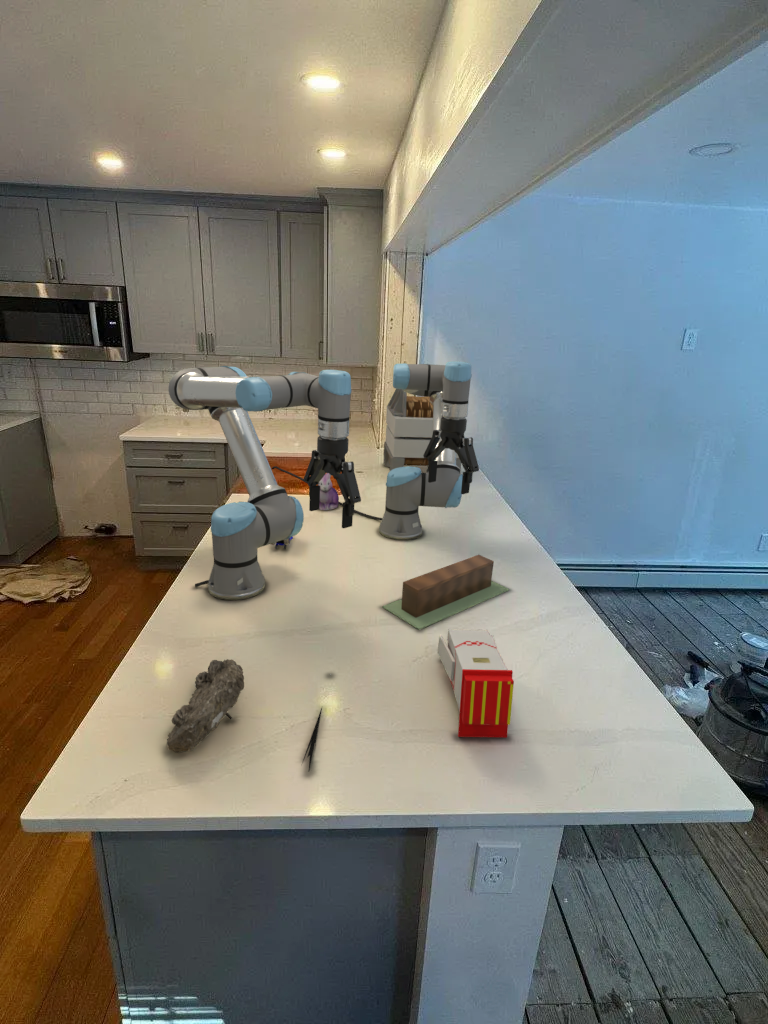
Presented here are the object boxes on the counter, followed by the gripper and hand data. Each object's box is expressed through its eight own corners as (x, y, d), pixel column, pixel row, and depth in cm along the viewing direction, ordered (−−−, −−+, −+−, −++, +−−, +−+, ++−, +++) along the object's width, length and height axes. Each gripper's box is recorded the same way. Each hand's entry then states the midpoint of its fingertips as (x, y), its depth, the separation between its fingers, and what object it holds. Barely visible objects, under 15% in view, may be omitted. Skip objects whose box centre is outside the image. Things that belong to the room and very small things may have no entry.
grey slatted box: (382, 463, 289) (386, 382, 275) (445, 464, 293) (451, 384, 279) (390, 482, 257) (394, 392, 243) (460, 483, 261) (468, 394, 247)
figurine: (321, 512, 217) (321, 474, 212) (311, 504, 225) (311, 467, 220) (344, 509, 221) (344, 472, 216) (333, 501, 229) (334, 465, 224)
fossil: (192, 660, 117) (244, 628, 112) (224, 691, 120) (276, 661, 115) (142, 746, 98) (202, 712, 93) (182, 779, 101) (242, 748, 96)
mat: (382, 607, 150) (382, 606, 150) (472, 572, 173) (472, 571, 173) (419, 630, 140) (419, 628, 140) (509, 590, 163) (509, 588, 163)
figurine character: (290, 555, 182) (296, 533, 195) (289, 535, 178) (295, 513, 192) (269, 555, 181) (276, 532, 195) (268, 534, 178) (275, 513, 191)
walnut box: (415, 617, 145) (417, 590, 143) (401, 609, 149) (402, 581, 146) (490, 586, 164) (493, 561, 161) (476, 579, 168) (478, 554, 165)
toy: (488, 613, 130) (523, 677, 101) (484, 667, 133) (517, 744, 104) (435, 612, 130) (455, 676, 101) (432, 666, 133) (451, 743, 103)
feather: (331, 679, 122) (336, 673, 122) (307, 777, 96) (313, 769, 95) (324, 675, 122) (329, 669, 121) (298, 772, 95) (304, 764, 95)
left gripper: (290, 427, 143) (290, 506, 150) (354, 450, 126) (349, 538, 133) (315, 424, 147) (313, 500, 155) (379, 446, 131) (373, 531, 138)
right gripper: (414, 411, 170) (410, 479, 177) (478, 426, 153) (471, 500, 160) (432, 409, 175) (427, 475, 182) (496, 423, 157) (488, 496, 165)
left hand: (330, 518), depth 144 cm, fingers open, 13 cm apart
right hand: (448, 487), depth 171 cm, fingers open, 13 cm apart
